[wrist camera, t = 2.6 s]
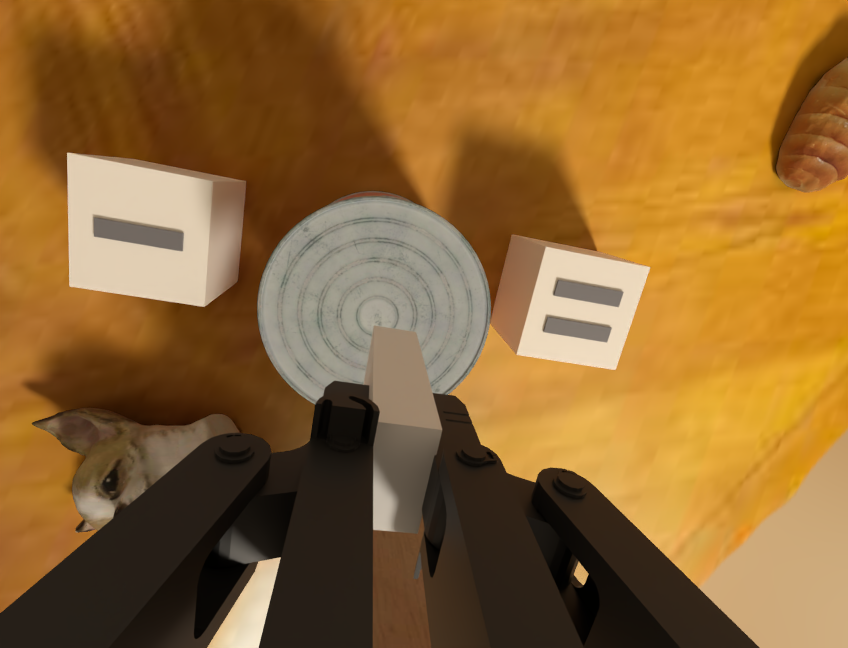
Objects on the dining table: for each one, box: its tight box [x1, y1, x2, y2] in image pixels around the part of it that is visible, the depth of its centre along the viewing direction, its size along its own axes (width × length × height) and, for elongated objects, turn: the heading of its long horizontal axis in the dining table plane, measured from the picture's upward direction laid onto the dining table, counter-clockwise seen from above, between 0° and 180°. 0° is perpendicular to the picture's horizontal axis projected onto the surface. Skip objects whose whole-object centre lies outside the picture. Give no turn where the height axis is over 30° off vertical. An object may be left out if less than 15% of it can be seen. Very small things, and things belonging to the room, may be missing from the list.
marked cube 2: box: [67, 153, 246, 307], centre depth 28 cm, size 7×7×7 cm
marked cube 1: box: [490, 234, 650, 370], centre depth 32 cm, size 7×7×7 cm
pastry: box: [776, 57, 848, 192], centre depth 32 cm, size 9×7×4 cm
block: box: [373, 515, 431, 648], centre depth 31 cm, size 10×10×20 cm
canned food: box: [257, 191, 491, 404], centre depth 28 cm, size 11×11×12 cm
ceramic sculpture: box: [32, 408, 240, 532], centre depth 32 cm, size 11×9×15 cm
